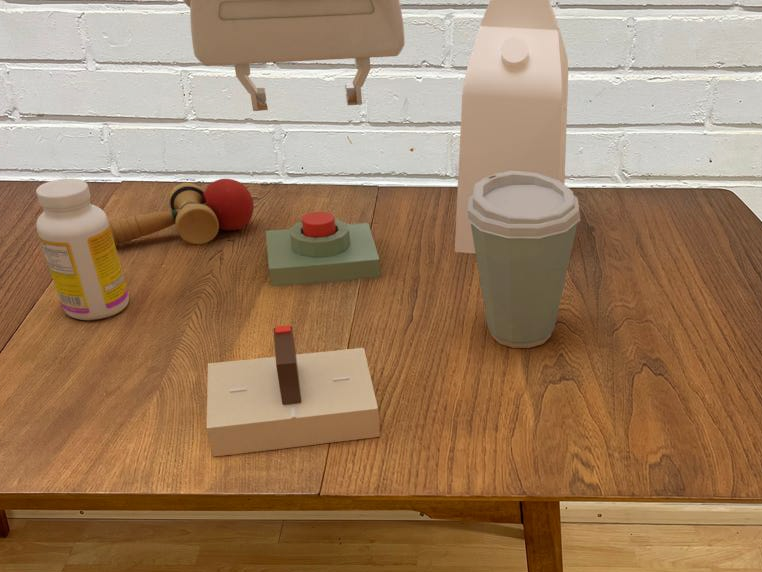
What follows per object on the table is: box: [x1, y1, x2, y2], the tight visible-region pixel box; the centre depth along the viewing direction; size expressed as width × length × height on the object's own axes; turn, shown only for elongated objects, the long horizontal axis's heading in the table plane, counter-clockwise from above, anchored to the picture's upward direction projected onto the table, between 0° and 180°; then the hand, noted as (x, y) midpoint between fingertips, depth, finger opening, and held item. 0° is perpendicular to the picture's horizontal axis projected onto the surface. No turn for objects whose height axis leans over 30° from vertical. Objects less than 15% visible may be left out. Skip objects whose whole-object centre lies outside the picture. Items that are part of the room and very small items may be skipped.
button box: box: [265, 218, 381, 288], centre depth 101 cm, size 12×10×4 cm
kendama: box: [109, 178, 255, 247], centre depth 105 cm, size 8×6×18 cm
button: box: [301, 211, 336, 238], centre depth 99 cm, size 4×4×2 cm
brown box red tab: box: [272, 324, 301, 405], centre depth 76 cm, size 6×2×4 cm, turn 12°
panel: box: [205, 347, 381, 458], centre depth 78 cm, size 14×10×3 cm
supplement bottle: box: [35, 178, 130, 321], centre depth 89 cm, size 7×7×13 cm
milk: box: [454, 0, 569, 255], centre depth 100 cm, size 12×12×26 cm
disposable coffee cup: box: [466, 171, 581, 349], centre depth 85 cm, size 11×11×15 cm
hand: (307, 106), depth 90 cm, fingers open, 8 cm apart
